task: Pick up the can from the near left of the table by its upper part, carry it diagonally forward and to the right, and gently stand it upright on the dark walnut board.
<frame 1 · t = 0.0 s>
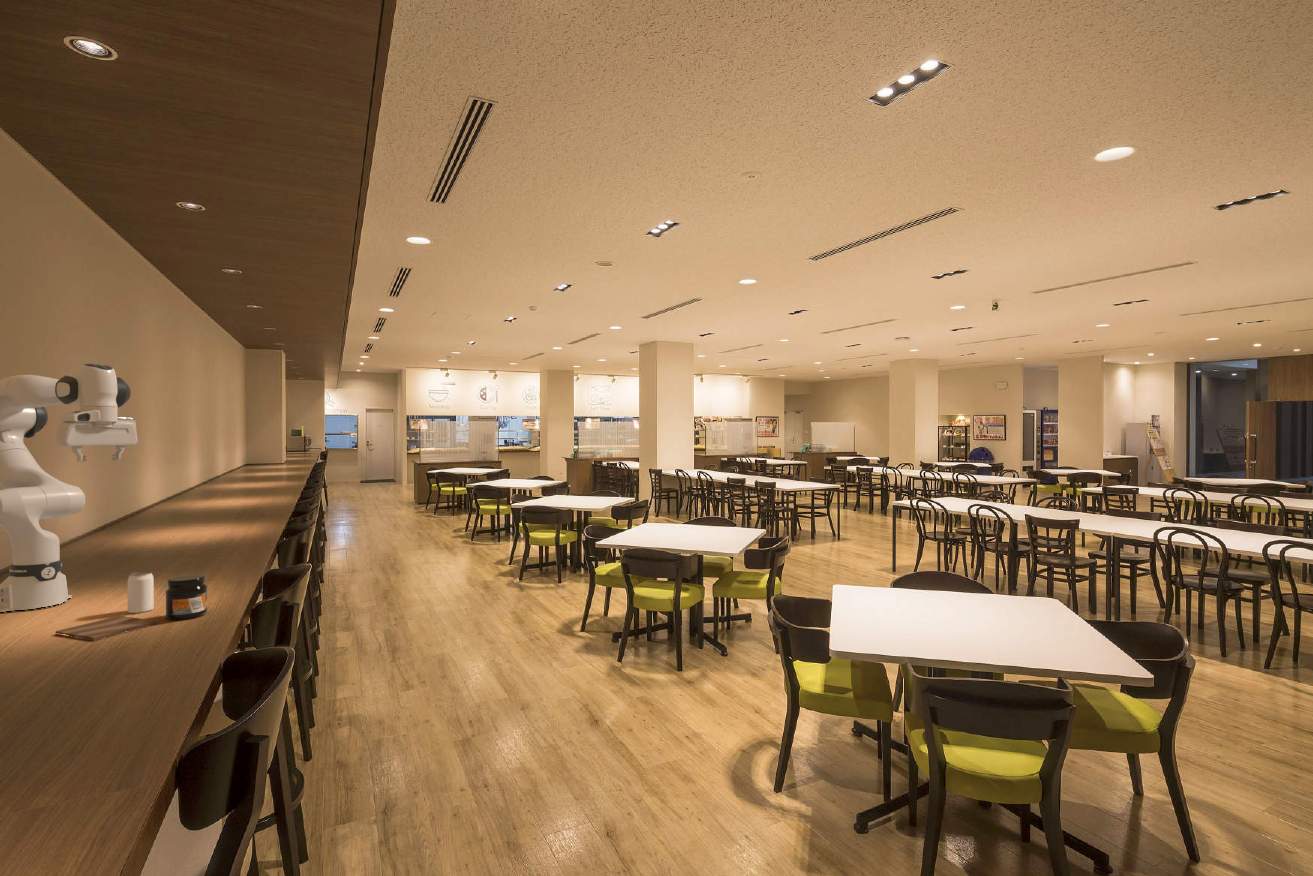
hand: (99, 460, 198), 48 cm above the worktop, tool pointing down, fingers open, 8 cm apart
can: (140, 611, 203), on the worktop
supplement container: (186, 616, 198), on the worktop
walnut board: (107, 629, 184), on the worktop
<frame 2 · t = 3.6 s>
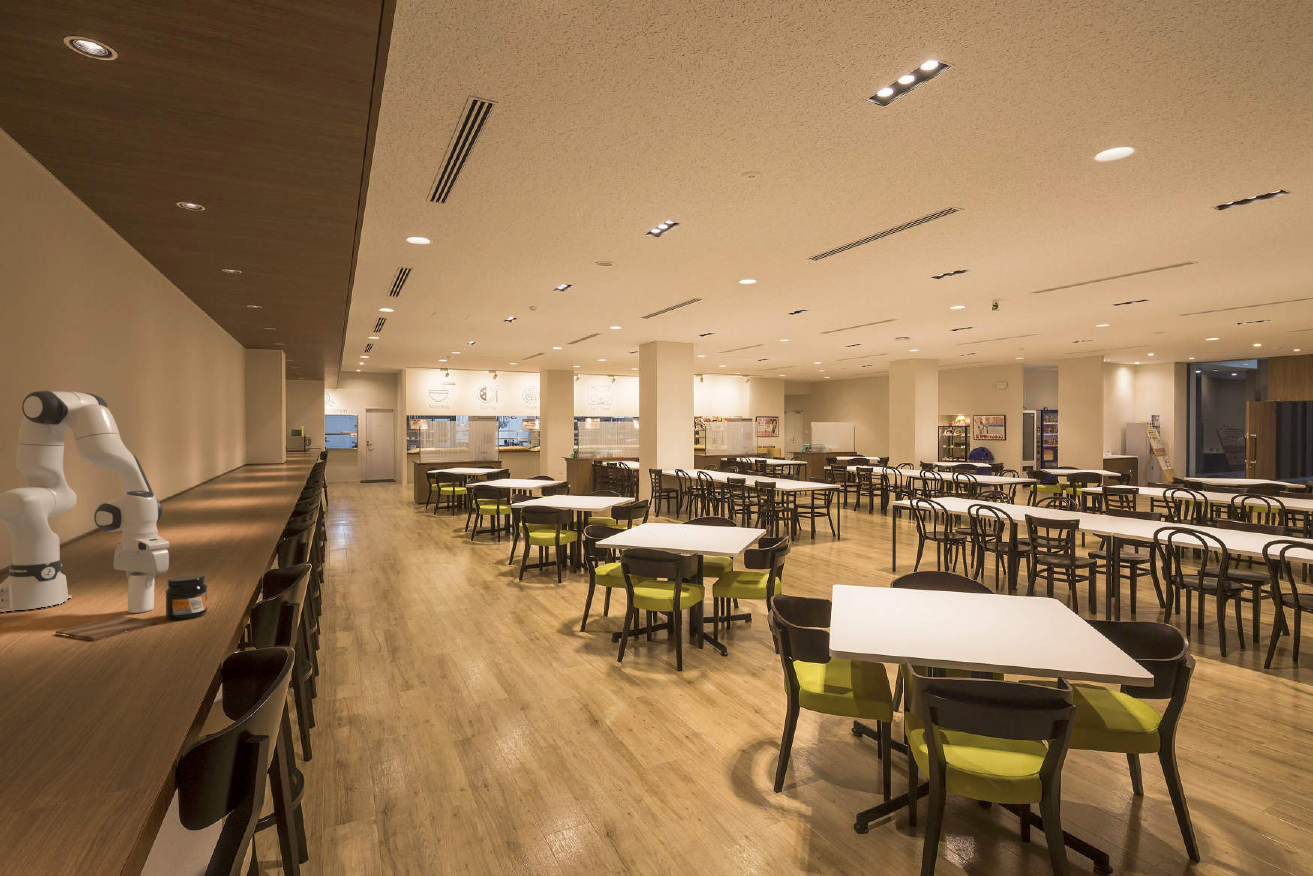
hand: (140, 585, 203), 8 cm above the worktop, tool pointing down, fingers closed on can, 5 cm apart
can: (140, 611, 203), on the worktop, touching gripper
everything else where it was.
when the fingers open (10 cm above the worktop, at t = 11.1 s): can stays where it is, resting on walnut board.
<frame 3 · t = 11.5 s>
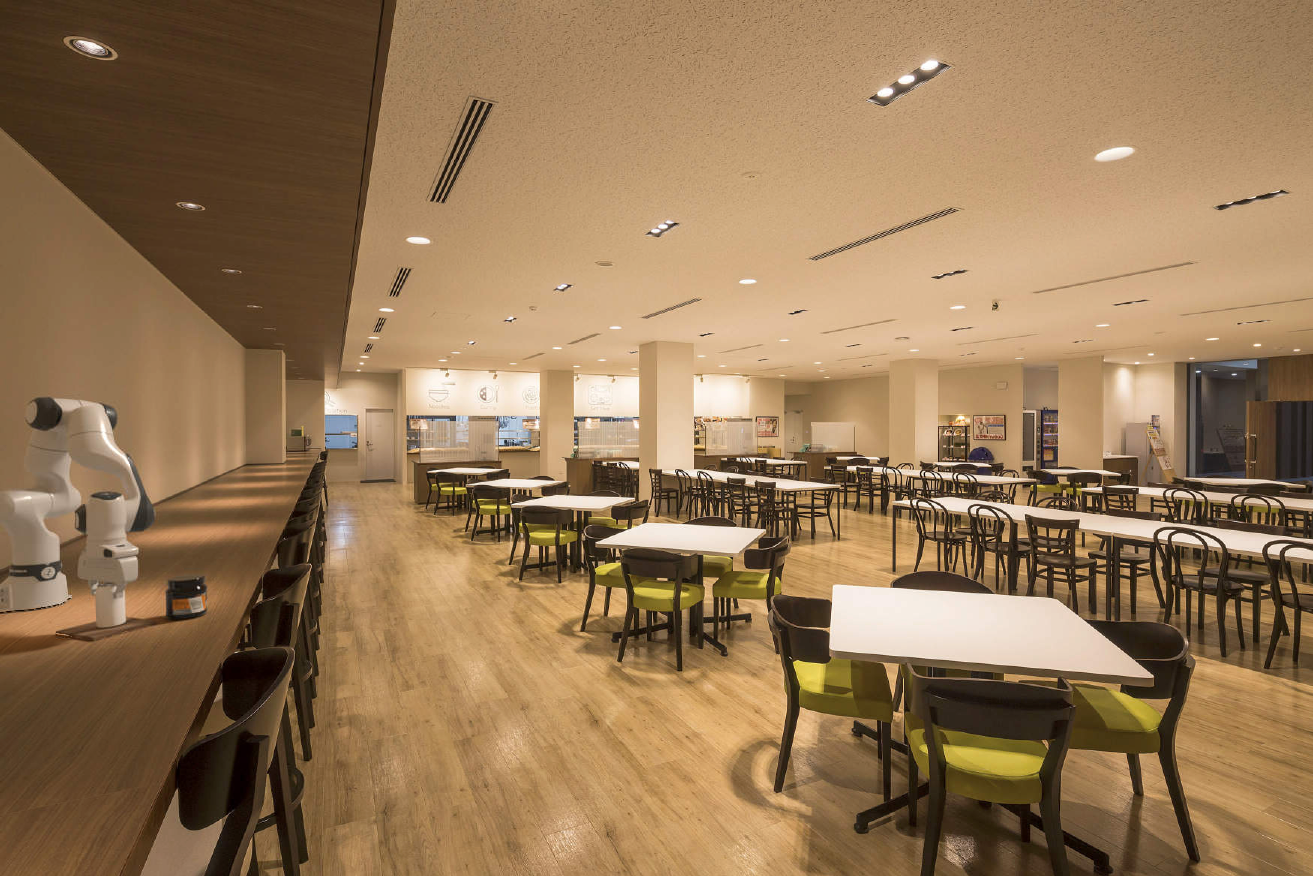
hand: (107, 596, 184), 10 cm above the worktop, tool pointing down, fingers open, 8 cm apart
can: (111, 625, 184), point 1 cm above the worktop, touching walnut board
everything else where it was.
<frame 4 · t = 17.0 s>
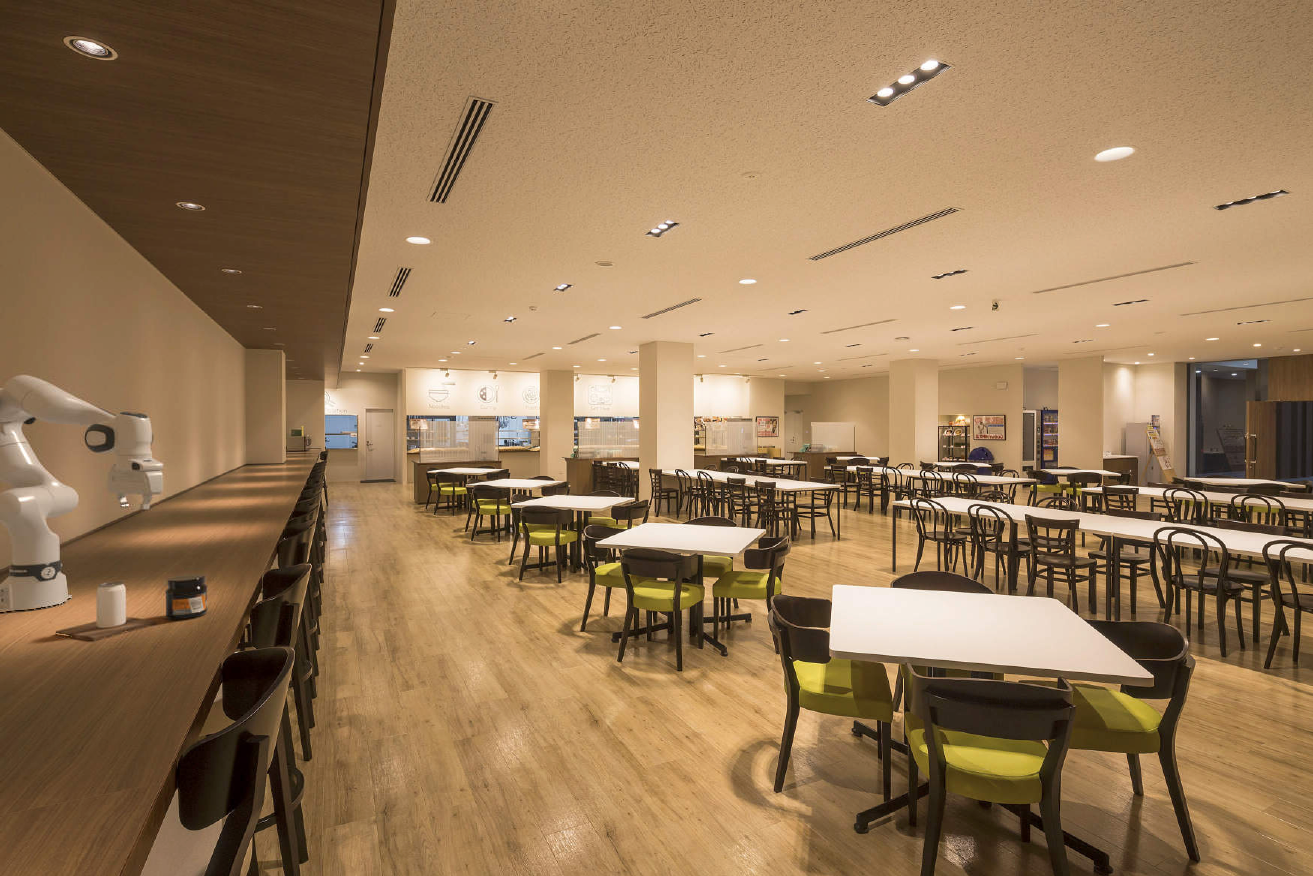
hand: (134, 508, 199), 33 cm above the worktop, tool pointing down, fingers open, 8 cm apart
nothing on the worktop moved.
at the end: can inside the target area on the walnut board (0.9 cm from its centre), point 0.8 cm above the walnut board's base; can tilted 0°; the gripper is holding nothing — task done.
